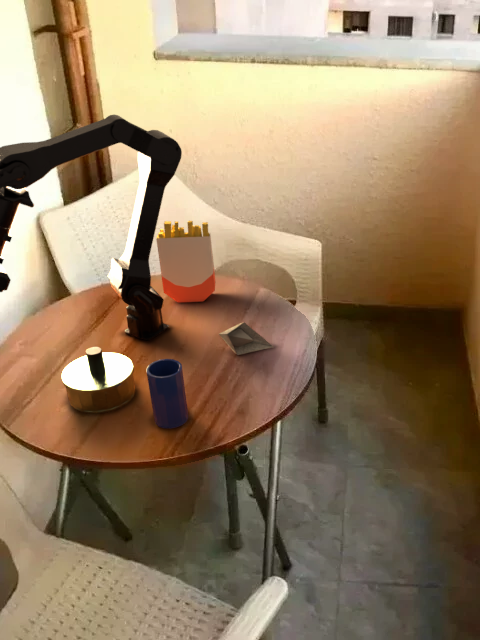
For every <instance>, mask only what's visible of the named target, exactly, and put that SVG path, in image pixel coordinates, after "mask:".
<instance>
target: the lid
mask: <svg viewBox="0 0 480 640" xmlns="http://www.w3.org/2000/svg"><path fill="white" fill-rule="evenodd" d="M134 370H135V367H134V363H133V361H132V360H131V359H130V358H129V357H127V356H126V355H123V354H121V353H118V352H103V349H102V347H100V346H91V347H88V348H87V349H86V350H85V355H84V356H81V357H79V358H77V359H75V360H73V361H72V362H70V363H68V364H67V365H66V366H65V367H64V369H63V370H62V373H61V382H62V384H63V385H64V387H65V388H66V387H67V388H68V389H70V390H72V391H75V392H80V393H98V392H104V391H108V390H111V389H114V388H116V387H118V386H120V385H122V384H123V383H125V382H126V381H127V380H128V379H129V378H130V377H131V376H132V374H133V375H134V372H135V371H134Z"/></svg>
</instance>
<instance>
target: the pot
mask: <svg viewBox="0 0 480 640" xmlns="http://www.w3.org/2000/svg"><path fill="white" fill-rule="evenodd" d="M134 378H135V377H134V373H133V374H132V376H131V377H130V378H129V379H128V380H127V381H126V382H125V383H123V384H122V385H120V386H118V387H116V388H114V389H111V390H108V391H104V392H98V393H80V392H75V391H72V390H70V389H68V388H67V387H66V386H65V390H66V391H65V392H66V394H67V398H68V401H69V404H70V406H71V407H72V408H73V409H74V410H76V411H78V412H80V413H83V414H91V415H94V414H95V415H96V414H98V415H99V414H105V413H109V412H114V411H116V410H118V409H120V408H123V407H124V406H126V405H128V403H130V402H131V401H132V400H133V398H134V397H135V394H136V385H135V384H136V383H135V379H134Z"/></svg>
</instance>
